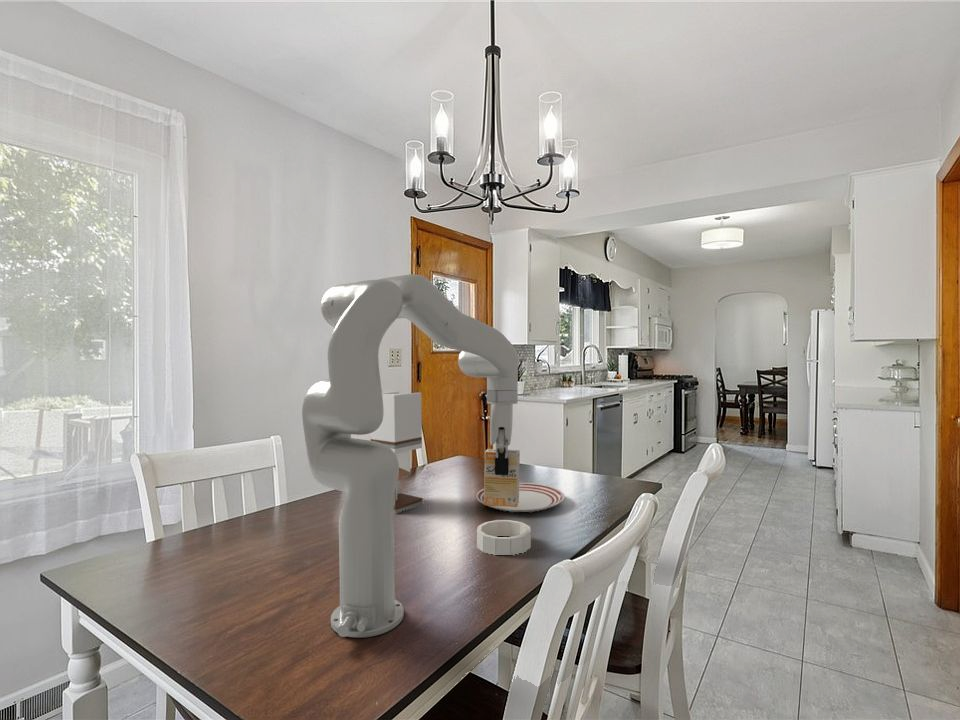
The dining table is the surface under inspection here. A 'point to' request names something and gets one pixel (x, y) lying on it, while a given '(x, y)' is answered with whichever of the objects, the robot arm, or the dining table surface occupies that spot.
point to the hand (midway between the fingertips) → (501, 471)
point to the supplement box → (501, 480)
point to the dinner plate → (531, 498)
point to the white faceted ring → (503, 545)
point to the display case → (401, 438)
